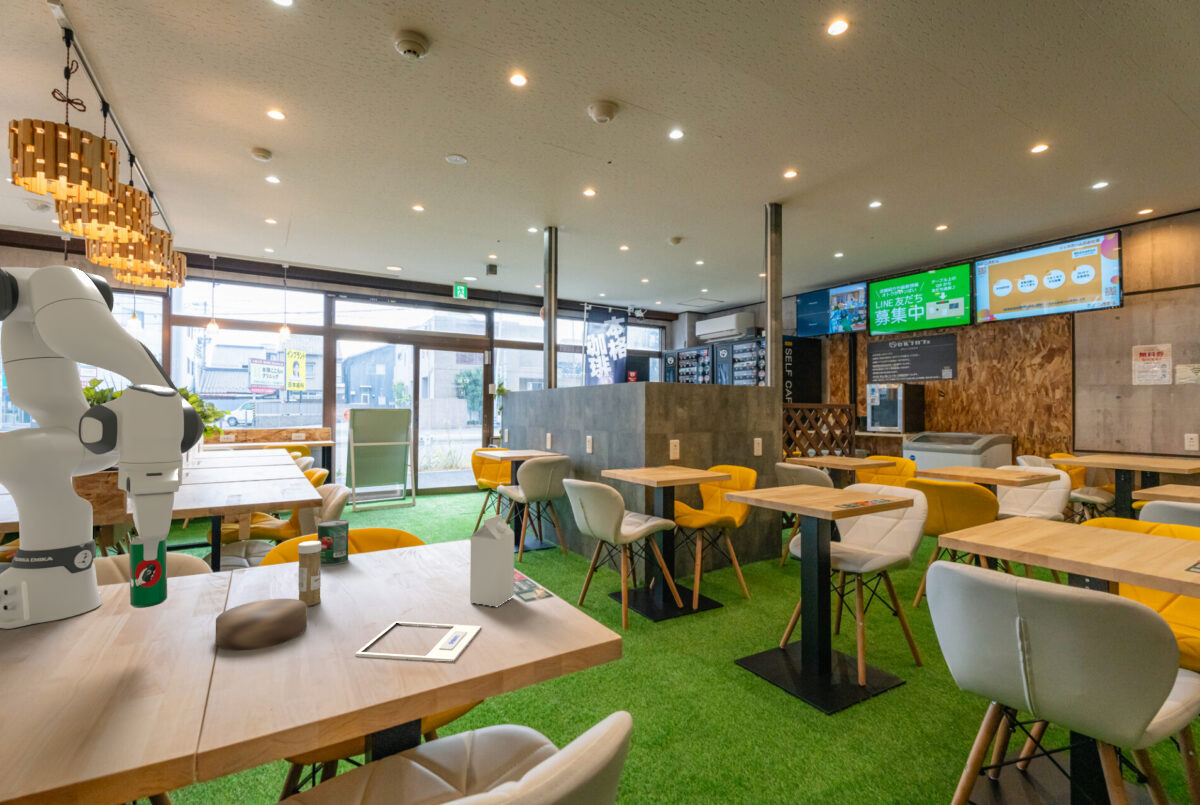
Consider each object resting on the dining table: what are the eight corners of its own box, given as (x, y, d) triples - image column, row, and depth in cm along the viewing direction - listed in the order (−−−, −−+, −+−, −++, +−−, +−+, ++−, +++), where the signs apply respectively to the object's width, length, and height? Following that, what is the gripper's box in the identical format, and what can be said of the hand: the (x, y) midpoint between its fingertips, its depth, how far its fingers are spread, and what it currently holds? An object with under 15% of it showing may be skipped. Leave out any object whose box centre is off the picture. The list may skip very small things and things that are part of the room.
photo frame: (453, 658, 96) (355, 652, 98) (453, 664, 96) (355, 658, 98) (481, 625, 110) (395, 620, 112) (481, 630, 110) (395, 625, 112)
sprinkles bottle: (322, 604, 123) (322, 543, 123) (298, 608, 120) (299, 546, 120) (319, 598, 126) (320, 539, 126) (296, 602, 124) (297, 541, 124)
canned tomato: (310, 564, 152) (311, 524, 152) (329, 557, 160) (329, 518, 160) (337, 566, 151) (337, 526, 151) (354, 558, 159) (354, 520, 159)
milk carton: (469, 603, 124) (470, 518, 124) (487, 593, 130) (488, 512, 130) (497, 608, 121) (497, 521, 121) (514, 598, 128) (514, 515, 128)
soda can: (174, 600, 100) (173, 532, 100) (145, 609, 95) (143, 539, 95) (153, 598, 101) (151, 532, 101) (122, 608, 96) (121, 538, 96)
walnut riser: (195, 648, 100) (195, 626, 100) (250, 617, 115) (251, 597, 115) (276, 651, 99) (276, 628, 99) (321, 618, 114) (321, 599, 114)
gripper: (124, 471, 104) (122, 545, 104) (131, 485, 89) (128, 572, 89) (167, 469, 108) (164, 540, 108) (180, 483, 93) (177, 565, 93)
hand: (148, 555), depth 98 cm, fingers closed on soda can, 5 cm apart
